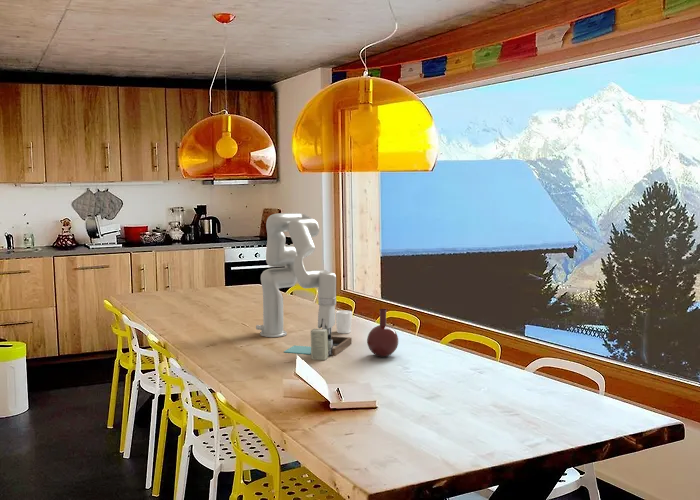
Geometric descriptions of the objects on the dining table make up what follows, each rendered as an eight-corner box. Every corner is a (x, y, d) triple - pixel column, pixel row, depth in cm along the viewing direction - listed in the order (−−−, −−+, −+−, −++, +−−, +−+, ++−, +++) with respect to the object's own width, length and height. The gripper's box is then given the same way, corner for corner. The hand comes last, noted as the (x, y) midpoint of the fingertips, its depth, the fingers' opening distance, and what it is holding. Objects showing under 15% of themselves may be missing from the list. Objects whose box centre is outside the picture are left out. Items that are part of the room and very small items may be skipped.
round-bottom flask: (404, 358, 314) (404, 310, 311) (376, 361, 308) (376, 313, 306) (388, 351, 325) (389, 305, 323) (361, 354, 319) (361, 308, 317)
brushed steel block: (313, 355, 315) (313, 341, 314) (318, 352, 321) (318, 338, 320) (328, 356, 313) (328, 342, 312) (332, 353, 319) (332, 339, 318)
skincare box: (328, 358, 313) (328, 329, 312) (324, 360, 309) (324, 331, 308) (314, 356, 315) (314, 328, 314) (310, 359, 311) (310, 330, 309)
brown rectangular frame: (312, 354, 319) (312, 347, 319) (330, 342, 341) (330, 336, 341) (335, 356, 316) (335, 349, 316) (351, 344, 338) (351, 337, 338)
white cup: (350, 334, 359) (350, 313, 358) (334, 333, 360) (334, 312, 359) (353, 330, 366) (353, 310, 365) (337, 330, 368) (337, 310, 367)
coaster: (283, 352, 322) (283, 351, 322) (294, 346, 334) (294, 345, 334) (309, 354, 319) (309, 353, 319) (319, 348, 330) (319, 347, 330)
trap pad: (328, 345, 335) (328, 345, 335) (332, 343, 340) (332, 342, 340) (344, 346, 333) (344, 346, 333) (347, 344, 337) (347, 344, 337)
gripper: (324, 298, 327) (324, 339, 329) (312, 303, 313) (312, 346, 315) (341, 298, 325) (340, 340, 327) (330, 304, 311) (329, 348, 313)
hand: (327, 343), depth 321 cm, fingers closed
